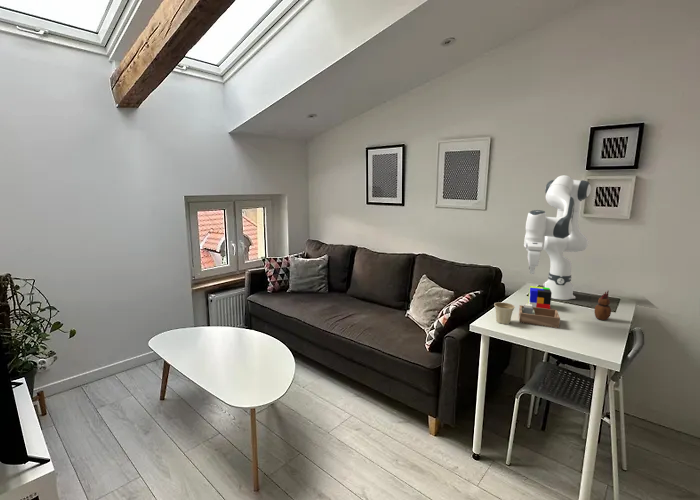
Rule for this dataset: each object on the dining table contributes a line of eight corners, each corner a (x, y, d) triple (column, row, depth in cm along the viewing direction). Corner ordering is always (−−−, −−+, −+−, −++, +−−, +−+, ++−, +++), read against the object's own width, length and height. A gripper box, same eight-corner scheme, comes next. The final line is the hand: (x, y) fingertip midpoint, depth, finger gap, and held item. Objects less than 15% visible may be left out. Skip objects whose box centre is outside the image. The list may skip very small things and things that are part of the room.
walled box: (518, 314, 190) (519, 305, 189) (555, 319, 183) (556, 309, 182) (519, 322, 178) (520, 313, 177) (558, 328, 171) (560, 318, 170)
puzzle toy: (529, 308, 200) (531, 290, 198) (528, 302, 209) (529, 286, 207) (549, 310, 196) (551, 292, 195) (547, 304, 206) (549, 287, 204)
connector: (523, 316, 185) (524, 303, 184) (531, 317, 183) (533, 304, 182) (522, 318, 181) (524, 305, 180) (531, 320, 180) (533, 306, 178)
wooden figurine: (605, 317, 186) (609, 289, 184) (612, 321, 181) (616, 292, 178) (591, 316, 187) (594, 288, 184) (597, 320, 181) (601, 292, 179)
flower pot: (504, 327, 173) (505, 309, 171) (488, 320, 181) (490, 304, 180) (517, 323, 177) (519, 306, 176) (501, 317, 185) (503, 301, 184)
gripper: (525, 240, 186) (523, 266, 189) (527, 246, 168) (525, 275, 170) (539, 241, 184) (537, 267, 186) (543, 247, 165) (540, 276, 168)
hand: (531, 271), depth 178 cm, fingers open, 8 cm apart
